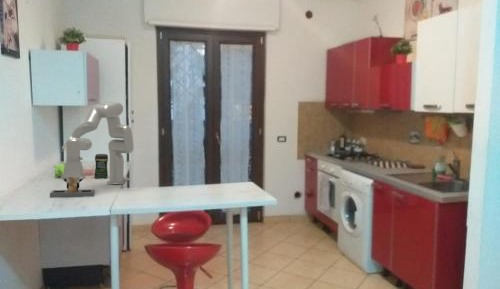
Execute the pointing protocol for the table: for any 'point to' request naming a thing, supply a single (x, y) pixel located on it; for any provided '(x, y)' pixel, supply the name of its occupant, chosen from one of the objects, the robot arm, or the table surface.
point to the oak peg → (73, 184)
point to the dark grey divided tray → (72, 193)
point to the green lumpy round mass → (59, 170)
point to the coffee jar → (101, 166)
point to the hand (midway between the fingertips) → (73, 189)
